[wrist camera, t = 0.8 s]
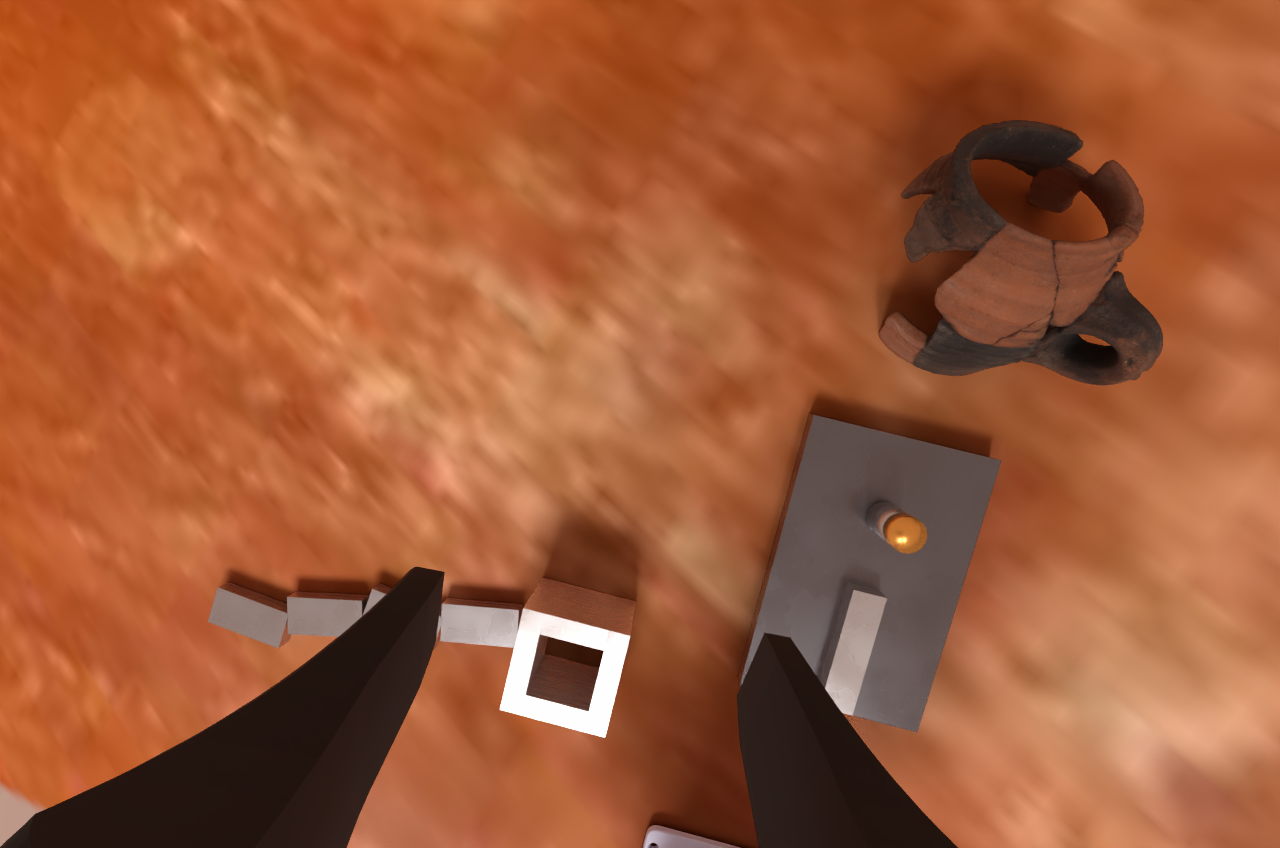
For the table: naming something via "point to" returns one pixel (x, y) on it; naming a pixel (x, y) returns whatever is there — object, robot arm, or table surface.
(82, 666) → the table surface
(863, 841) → the robot arm
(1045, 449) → the table surface
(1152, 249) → the table surface
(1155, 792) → the table surface
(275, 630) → the chain
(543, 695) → the end link
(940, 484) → the keeper
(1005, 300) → the pottery mug
